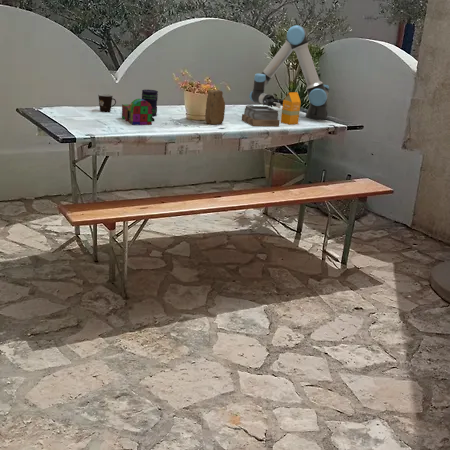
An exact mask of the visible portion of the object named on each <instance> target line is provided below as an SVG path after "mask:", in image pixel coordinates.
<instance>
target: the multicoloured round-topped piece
mask: <svg viewBox="0 0 450 450" xmlns="http://www.w3.org/2000/svg"><path fill="white" fill-rule="evenodd" d="M121 119H122V120H123V121H125V122H127V123H129V124H130V125H132V126H151V125H152V123H153V122H155V118H154V117H152V106H151V104H150V103H149V102H147V101H145V100H143V99H142V98H136V99H134V100H132V102H131V103H130V104H127V103H126V104H125V103H124V104H121Z"/></svg>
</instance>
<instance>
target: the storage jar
mask: <svg viewBox="0 0 450 450" xmlns="http://www.w3.org/2000/svg"><path fill="white" fill-rule="evenodd" d="M158 93H159V91H158V90H155V89H141V99H143V100H145V101H147V102H149V103H150V104H151V106H152V117H153V118H154V117H157V115H158V114H157V113H158V107H157V106H158V100H159V99H158V98H159V97H158V95H159V94H158Z"/></svg>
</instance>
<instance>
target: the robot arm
mask: <svg viewBox="0 0 450 450" xmlns="http://www.w3.org/2000/svg"><path fill="white" fill-rule="evenodd" d="M309 43H310V42H309V40H308V37H307V30H306V28H305V27H304V26H302V25H300V24H298V25H292V26H290V28H289V29H288V30H287V32H286V38H285V42H284V43H283V45H282V46H281V47H280V48H279V50H278V51H277V52H276V54H275V55H274V56H273V57H272V59H271V60H270V61H269V63H268V64H267V66H266V67H264V69H263V70H262V72H261V73H255V74H254V78H253V79H254V80H253V88H252V89H253V90H252V91H250V93H249V100H250V101H252V103H253V102H254V103H255V104H256V103H257V104H259V105H262V106H268V107H270V108H273V107H274V108H279V109H280V108H281V106H282V105H283V100H284V99H280V98H275V96H273V95H272V94H268V93H265V86H267V85H268V84H269V82H270V81H271V79H272V77H274V76H275V74H276V73H277V71H278V70H279V69H280V67H282V65H283V64H284V63H285V61H286V60H287V59H288V58H289V56H290V55H291V54H292V53H293V51H294V52H295V54H296V57H297V60H298V64H299V66H300V69H301V71H302V75H303V77H304V80H305V83H306V88H305V90H306V92H307V96H308V101H309V107H308V108H307V111H306V113H305V117H306V118H309V119H312V120H320V119H321V120H322V119H325V120H328V117H329V116H328V110H327V109H328V108H327V106H328V100H329V91H330V86H329V85H328V84H324V83H323V81H321V80H320V77H319V75H318V72H317V70H316V67H315V64H314V61H313V58H312V55H311V52H310V50H309V47H308V45H309Z"/></svg>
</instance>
